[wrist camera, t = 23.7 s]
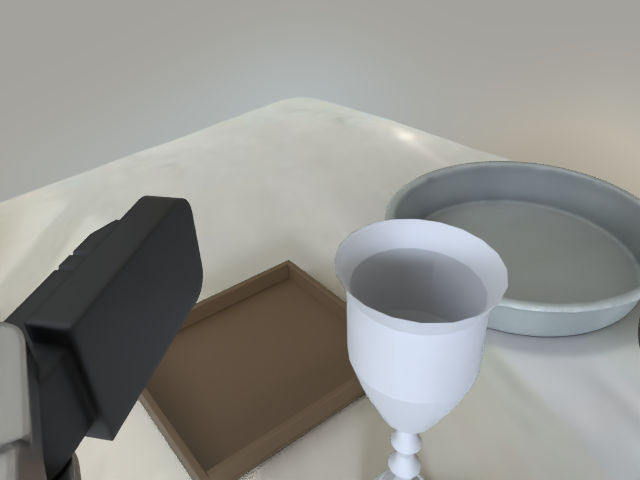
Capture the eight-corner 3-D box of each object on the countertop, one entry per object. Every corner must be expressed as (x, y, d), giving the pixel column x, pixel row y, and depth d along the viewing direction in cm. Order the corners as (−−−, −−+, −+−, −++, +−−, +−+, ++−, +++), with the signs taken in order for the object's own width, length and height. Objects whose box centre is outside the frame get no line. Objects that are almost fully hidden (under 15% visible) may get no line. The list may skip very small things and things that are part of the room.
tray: (290, 275, 53) (288, 259, 52) (406, 366, 43) (407, 348, 42) (113, 361, 44) (107, 344, 43) (206, 500, 34) (201, 482, 33)
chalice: (489, 540, 32) (548, 285, 22) (387, 605, 29) (402, 349, 19) (411, 443, 37) (430, 204, 27) (319, 491, 35) (303, 246, 25)
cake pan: (459, 176, 68) (462, 141, 66) (691, 243, 55) (707, 202, 52) (331, 276, 53) (330, 235, 50) (612, 405, 39) (630, 358, 37)
